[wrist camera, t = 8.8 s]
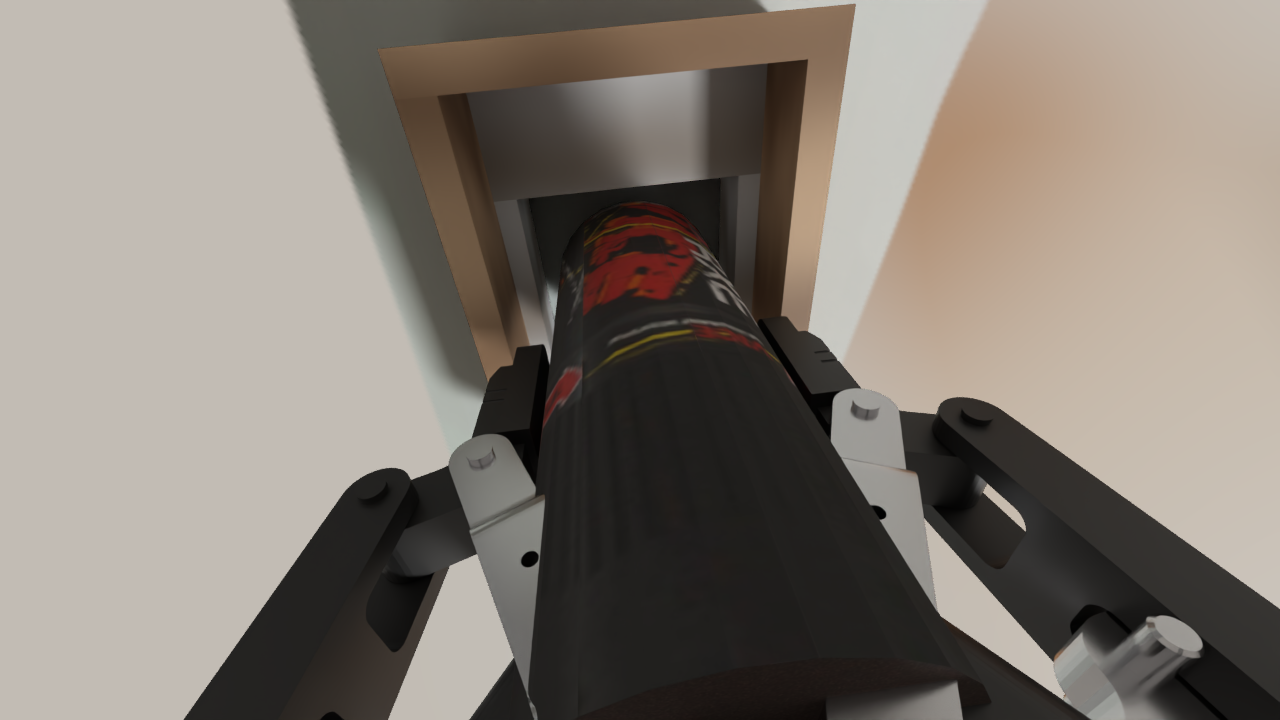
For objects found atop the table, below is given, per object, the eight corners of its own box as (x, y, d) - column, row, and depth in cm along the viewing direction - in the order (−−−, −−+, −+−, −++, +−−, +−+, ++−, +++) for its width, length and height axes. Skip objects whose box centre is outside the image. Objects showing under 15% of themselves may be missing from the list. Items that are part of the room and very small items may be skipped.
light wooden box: (441, 51, 15) (377, 48, 10) (774, 19, 15) (856, 3, 11) (540, 421, 24) (529, 508, 19) (749, 395, 24) (786, 475, 20)
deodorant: (544, 321, 19) (460, 848, 6) (585, 177, 16) (580, 633, 3) (676, 356, 20) (816, 830, 8) (736, 230, 17) (1110, 674, 5)
